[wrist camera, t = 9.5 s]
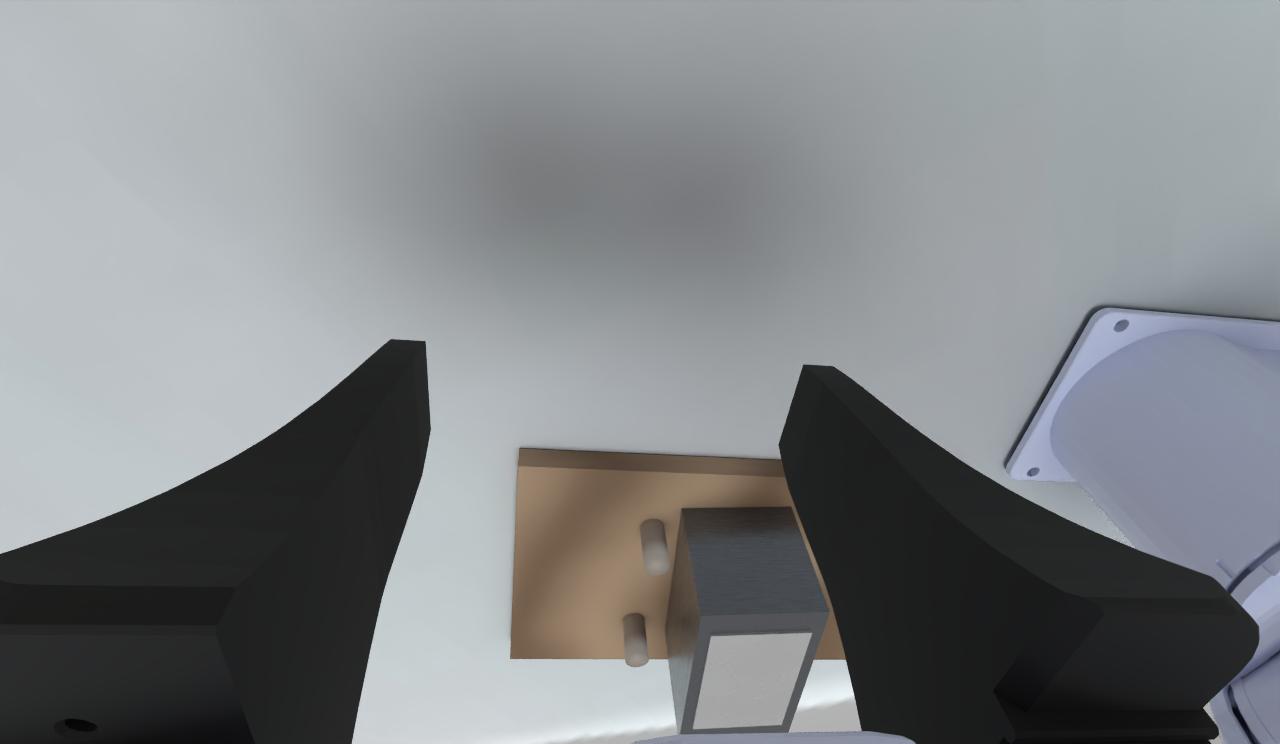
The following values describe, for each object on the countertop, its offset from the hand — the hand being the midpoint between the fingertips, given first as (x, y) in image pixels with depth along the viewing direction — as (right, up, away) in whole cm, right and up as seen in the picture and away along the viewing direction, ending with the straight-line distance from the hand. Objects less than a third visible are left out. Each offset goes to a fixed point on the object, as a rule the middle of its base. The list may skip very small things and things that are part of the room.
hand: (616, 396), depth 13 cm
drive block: (+4, -8, +16) cm, 19 cm away
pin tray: (+4, -8, +17) cm, 19 cm away
